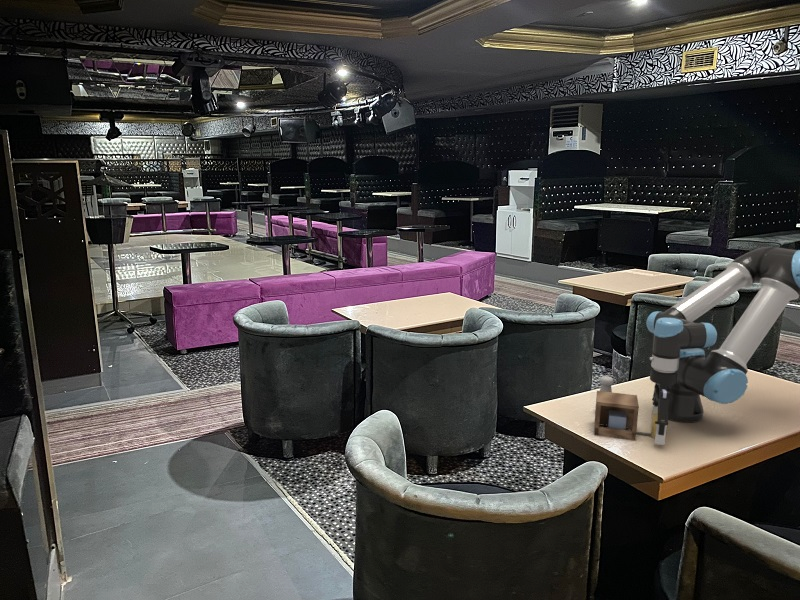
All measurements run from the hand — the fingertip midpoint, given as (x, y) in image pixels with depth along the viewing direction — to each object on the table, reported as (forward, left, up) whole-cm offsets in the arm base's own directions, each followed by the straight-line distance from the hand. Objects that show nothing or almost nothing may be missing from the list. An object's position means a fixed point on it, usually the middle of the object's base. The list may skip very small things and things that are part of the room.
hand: (657, 434), depth 183 cm
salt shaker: (+15, -14, -1) cm, 21 cm away
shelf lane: (+12, 0, -1) cm, 13 cm away
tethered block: (+6, 0, -1) cm, 6 cm away
